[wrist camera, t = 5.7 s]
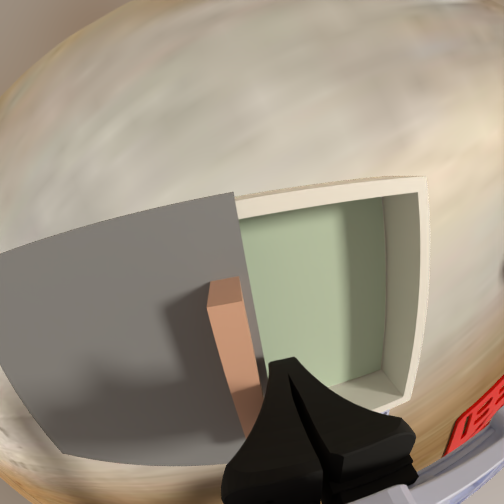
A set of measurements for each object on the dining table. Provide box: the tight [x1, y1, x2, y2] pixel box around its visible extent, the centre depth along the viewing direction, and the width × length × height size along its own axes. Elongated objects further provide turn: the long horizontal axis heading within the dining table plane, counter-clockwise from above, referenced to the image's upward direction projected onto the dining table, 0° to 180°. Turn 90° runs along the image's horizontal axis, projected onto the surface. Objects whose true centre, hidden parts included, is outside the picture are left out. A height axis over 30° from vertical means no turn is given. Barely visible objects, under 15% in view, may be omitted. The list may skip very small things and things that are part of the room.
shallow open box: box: [234, 176, 430, 413], centre depth 16 cm, size 16×18×4 cm
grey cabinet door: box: [0, 192, 268, 466], centre depth 11 cm, size 17×19×3 cm
